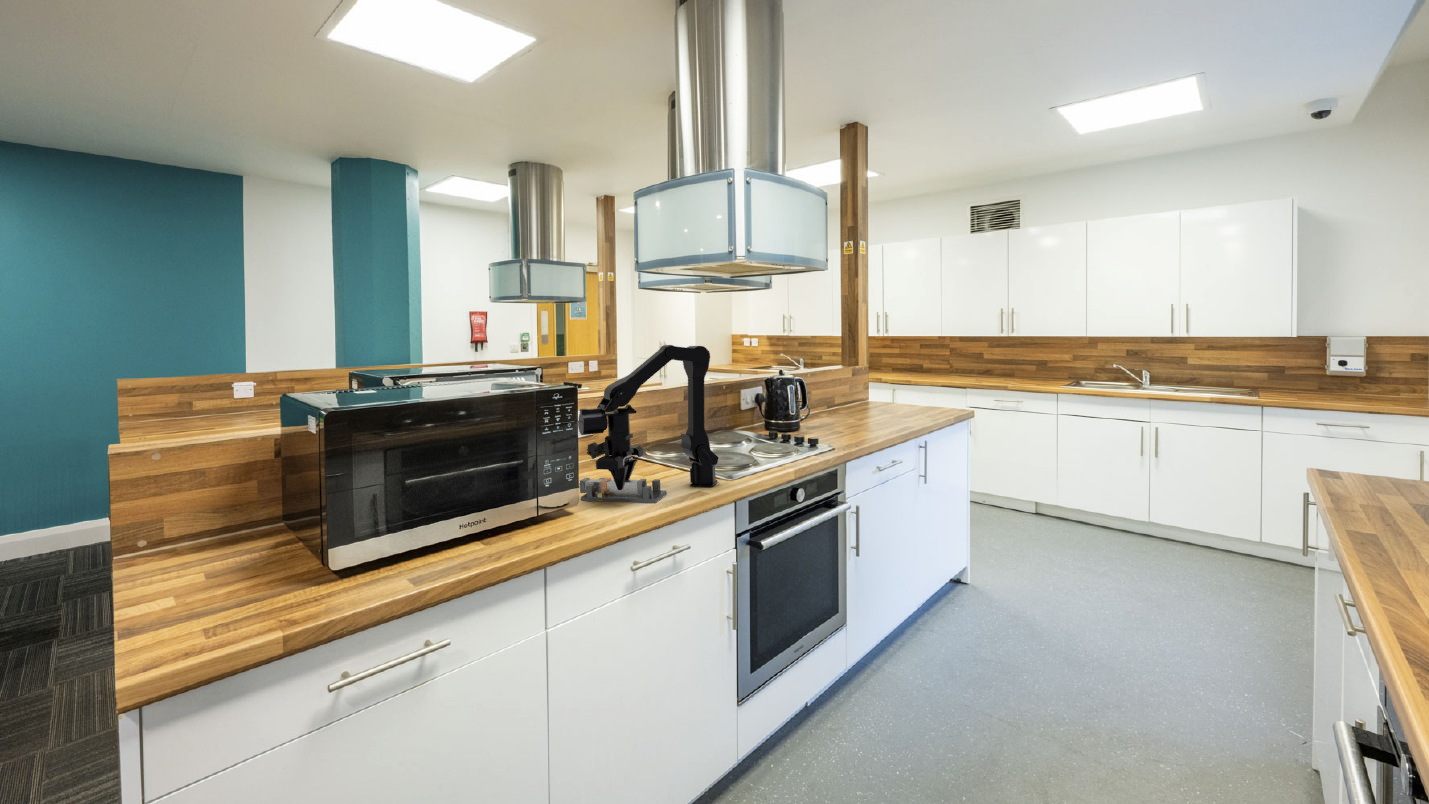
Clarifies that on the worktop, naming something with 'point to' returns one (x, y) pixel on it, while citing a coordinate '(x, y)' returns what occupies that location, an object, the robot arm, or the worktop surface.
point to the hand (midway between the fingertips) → (622, 488)
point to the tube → (613, 485)
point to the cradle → (626, 494)
